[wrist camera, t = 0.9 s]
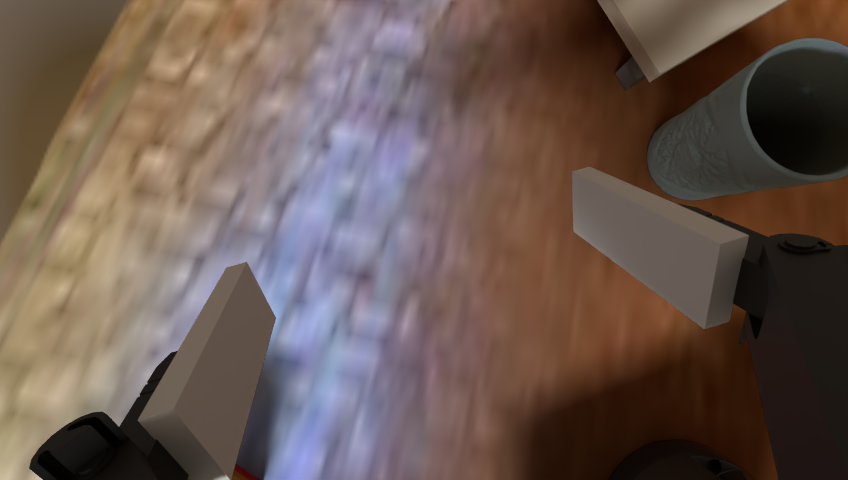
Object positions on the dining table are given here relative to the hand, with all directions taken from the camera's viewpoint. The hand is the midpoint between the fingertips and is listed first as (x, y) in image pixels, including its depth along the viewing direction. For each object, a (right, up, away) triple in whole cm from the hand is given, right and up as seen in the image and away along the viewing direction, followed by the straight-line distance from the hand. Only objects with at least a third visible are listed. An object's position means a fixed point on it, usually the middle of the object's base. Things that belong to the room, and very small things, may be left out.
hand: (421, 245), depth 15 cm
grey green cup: (+27, +9, +22) cm, 36 cm away
